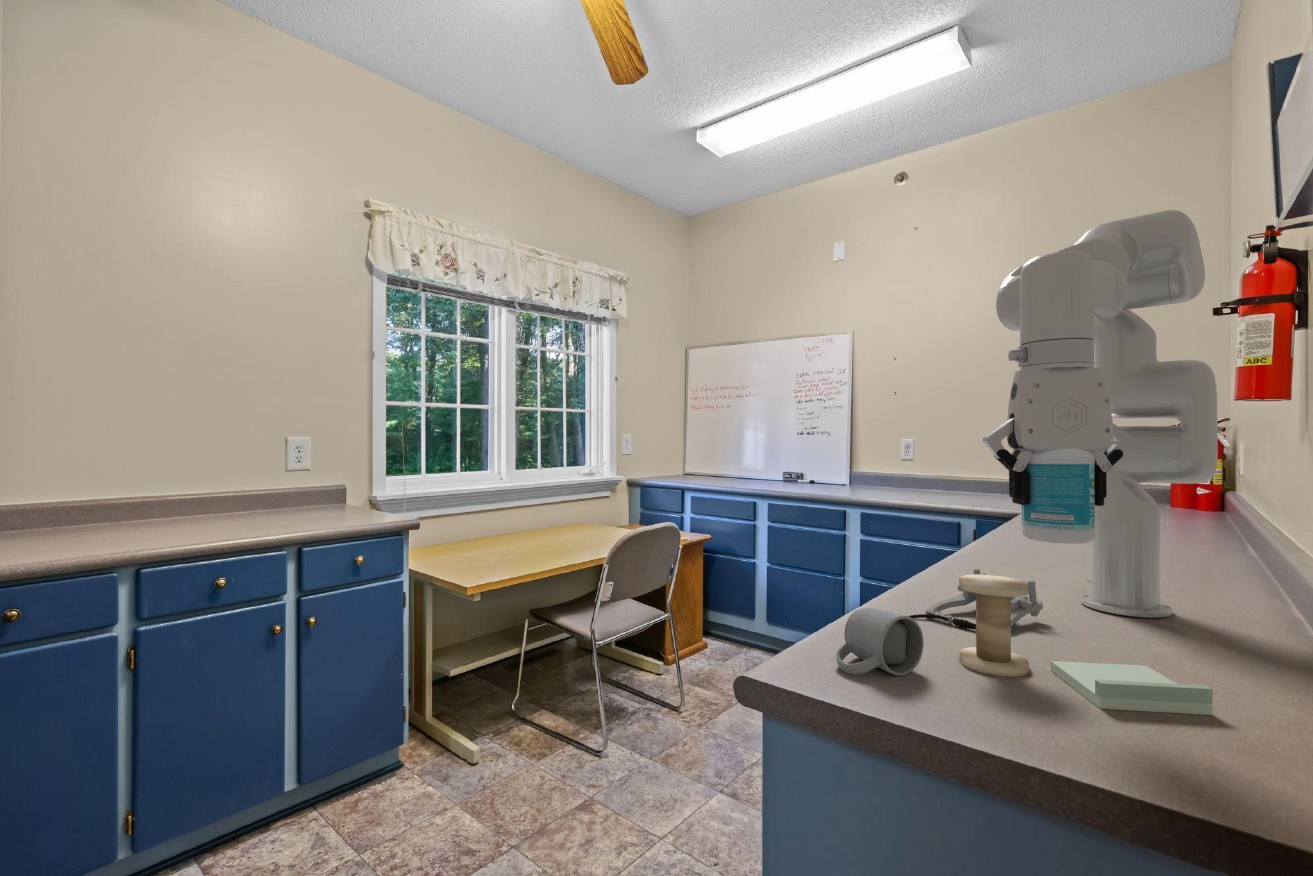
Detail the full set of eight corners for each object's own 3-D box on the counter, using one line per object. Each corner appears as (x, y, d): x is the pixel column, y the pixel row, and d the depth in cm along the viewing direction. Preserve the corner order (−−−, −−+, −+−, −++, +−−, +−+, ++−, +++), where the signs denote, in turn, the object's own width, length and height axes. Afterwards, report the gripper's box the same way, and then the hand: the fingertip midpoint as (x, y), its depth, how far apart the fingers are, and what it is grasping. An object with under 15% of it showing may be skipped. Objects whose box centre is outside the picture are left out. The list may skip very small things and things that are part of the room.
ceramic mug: (879, 651, 85) (878, 598, 85) (925, 670, 78) (924, 613, 78) (822, 664, 81) (820, 608, 80) (865, 686, 73) (864, 625, 73)
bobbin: (950, 652, 84) (950, 573, 84) (1012, 655, 83) (1012, 575, 83) (972, 675, 76) (971, 587, 76) (1040, 678, 75) (1040, 590, 75)
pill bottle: (1108, 546, 69) (1107, 427, 69) (1036, 544, 70) (1035, 428, 70) (1076, 535, 76) (1075, 428, 76) (1012, 534, 78) (1011, 429, 78)
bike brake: (972, 599, 109) (898, 634, 99) (969, 562, 108) (894, 594, 99) (1053, 620, 97) (977, 661, 87) (1049, 579, 96) (973, 616, 87)
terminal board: (1050, 670, 77) (1050, 648, 77) (1145, 675, 76) (1145, 652, 76) (1100, 708, 67) (1100, 683, 67) (1212, 715, 65) (1212, 689, 65)
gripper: (992, 356, 71) (992, 507, 71) (1156, 352, 68) (1157, 509, 68) (968, 363, 78) (969, 500, 78) (1116, 360, 76) (1116, 501, 76)
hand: (1056, 503), depth 73 cm, fingers closed on pill bottle, 7 cm apart
